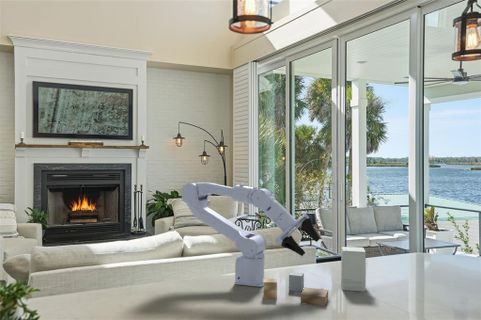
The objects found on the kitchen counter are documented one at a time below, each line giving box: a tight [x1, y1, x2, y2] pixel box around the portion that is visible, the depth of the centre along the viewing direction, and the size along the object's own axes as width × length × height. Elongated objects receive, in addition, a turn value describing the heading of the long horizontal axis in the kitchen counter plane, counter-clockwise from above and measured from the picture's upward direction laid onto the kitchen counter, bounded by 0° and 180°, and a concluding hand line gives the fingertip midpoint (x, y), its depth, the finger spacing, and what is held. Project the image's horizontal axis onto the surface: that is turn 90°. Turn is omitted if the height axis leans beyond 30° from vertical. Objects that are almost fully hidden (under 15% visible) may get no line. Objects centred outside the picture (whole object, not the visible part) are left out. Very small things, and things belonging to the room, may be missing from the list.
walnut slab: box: [300, 286, 329, 307], centre depth 124 cm, size 7×7×3 cm
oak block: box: [263, 277, 278, 300], centre depth 128 cm, size 4×4×5 cm
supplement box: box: [340, 246, 367, 292], centre depth 137 cm, size 7×7×13 cm
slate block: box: [288, 271, 305, 292], centre depth 135 cm, size 4×4×5 cm
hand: (311, 247), depth 134 cm, fingers open, 7 cm apart
